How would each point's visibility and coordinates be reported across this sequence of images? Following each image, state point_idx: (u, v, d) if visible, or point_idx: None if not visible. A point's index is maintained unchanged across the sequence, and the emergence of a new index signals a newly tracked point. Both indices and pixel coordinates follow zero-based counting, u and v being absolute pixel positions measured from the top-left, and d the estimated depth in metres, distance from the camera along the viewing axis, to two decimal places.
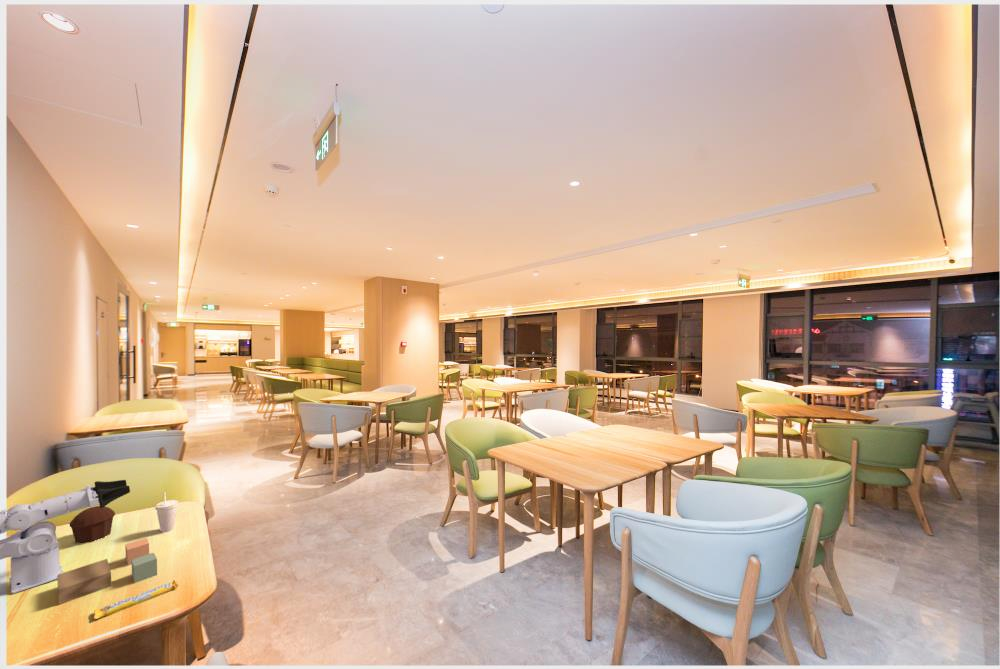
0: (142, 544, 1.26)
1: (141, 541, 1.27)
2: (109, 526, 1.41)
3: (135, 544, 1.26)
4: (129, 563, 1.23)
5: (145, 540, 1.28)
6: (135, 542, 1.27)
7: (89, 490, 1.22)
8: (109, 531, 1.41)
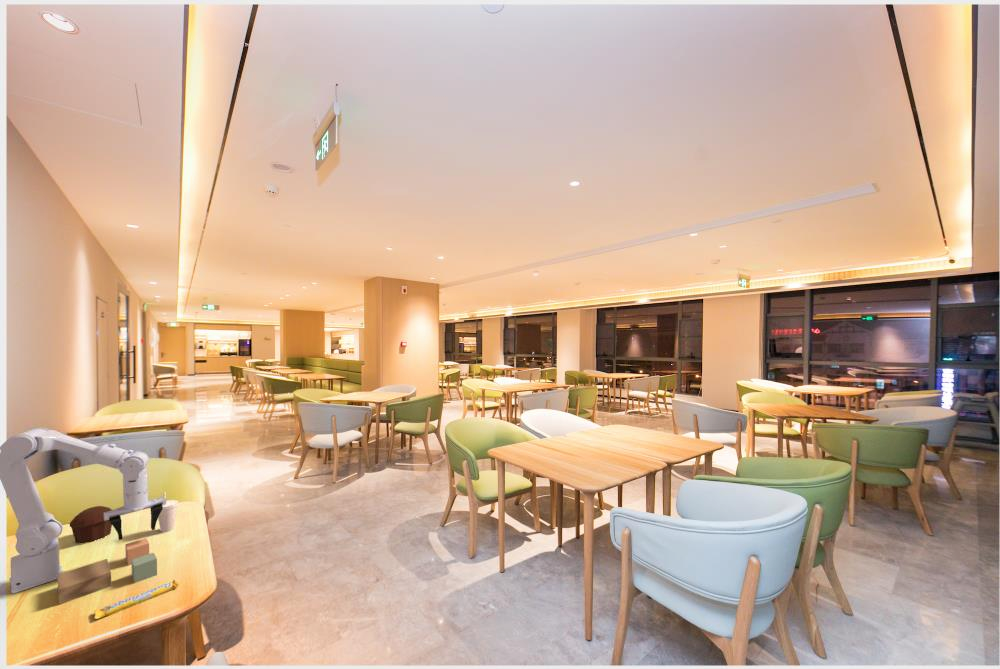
0: (142, 544, 1.26)
1: (141, 541, 1.27)
2: (109, 526, 1.41)
3: (135, 544, 1.26)
4: (129, 563, 1.23)
5: (145, 540, 1.28)
6: (135, 542, 1.27)
7: (129, 511, 1.23)
8: (109, 531, 1.41)
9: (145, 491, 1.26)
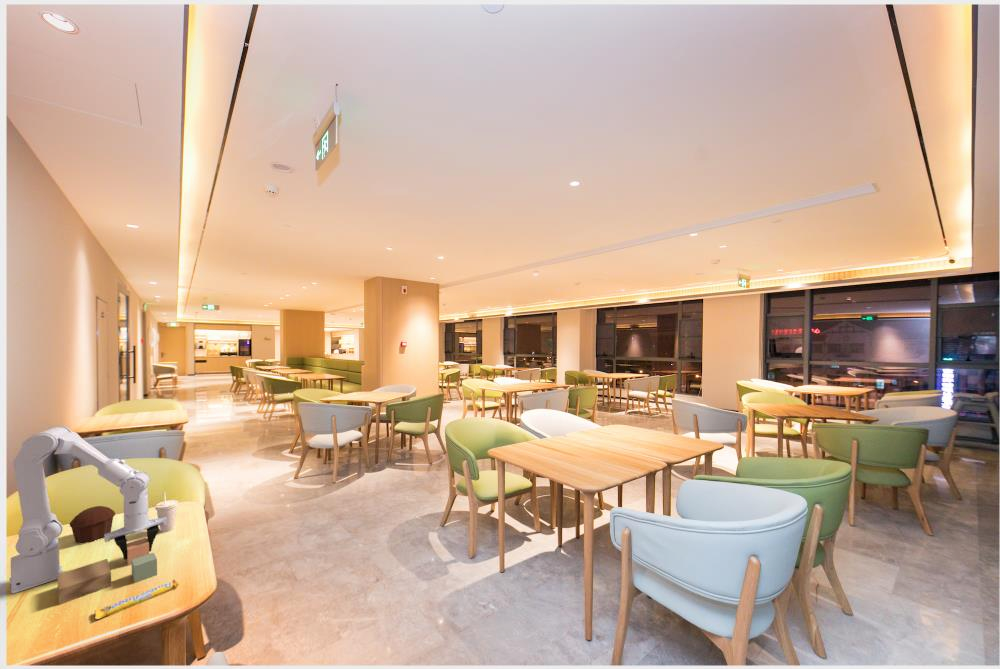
0: (142, 544, 1.26)
1: (141, 541, 1.27)
2: (109, 526, 1.41)
3: (135, 543, 1.26)
4: (129, 563, 1.23)
5: (145, 540, 1.28)
6: (135, 542, 1.27)
7: (130, 532, 1.23)
8: (109, 531, 1.41)
9: (146, 512, 1.26)
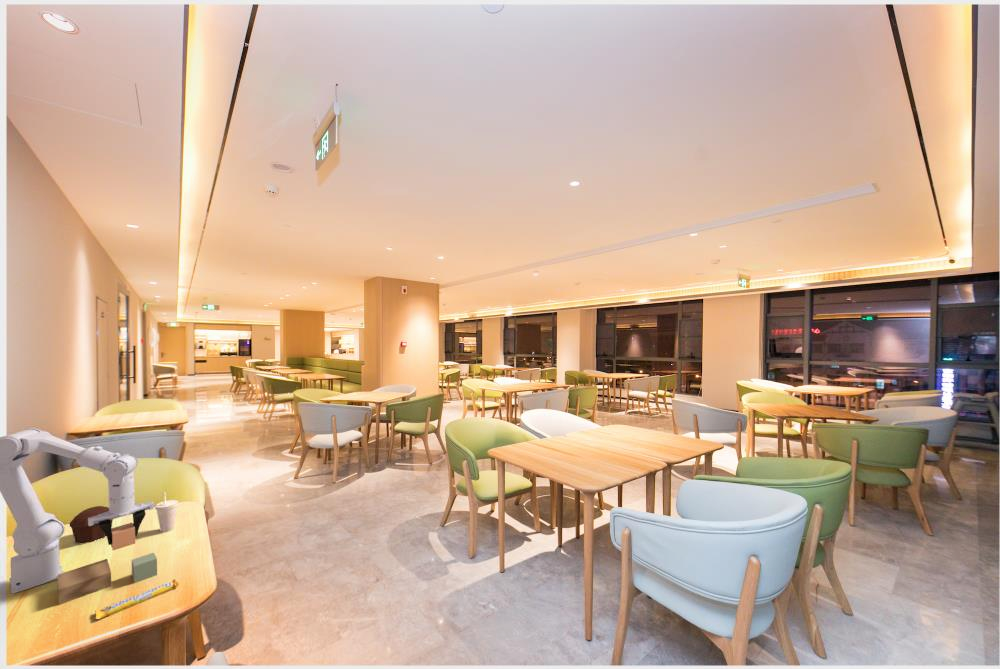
0: (128, 528, 1.22)
1: (127, 526, 1.23)
2: None
3: (120, 528, 1.22)
4: (114, 548, 1.19)
5: (131, 525, 1.24)
6: (120, 527, 1.23)
7: (115, 516, 1.19)
8: None
9: (131, 495, 1.22)
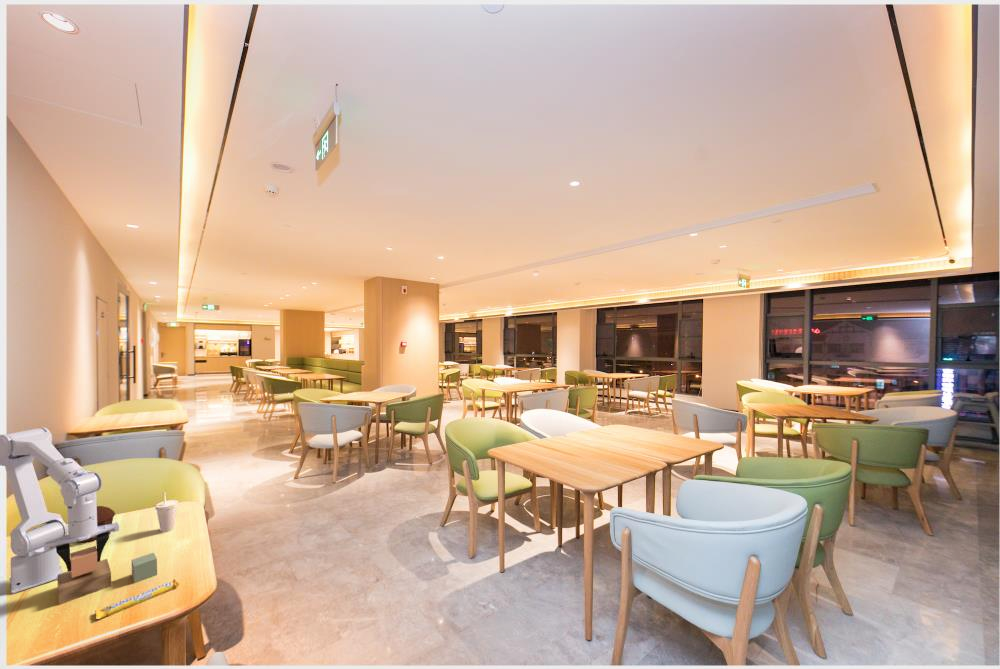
0: (89, 553, 1.12)
1: (88, 550, 1.13)
2: None
3: (81, 553, 1.12)
4: (73, 575, 1.09)
5: (93, 548, 1.14)
6: (81, 551, 1.13)
7: (74, 540, 1.09)
8: None
9: (93, 517, 1.12)
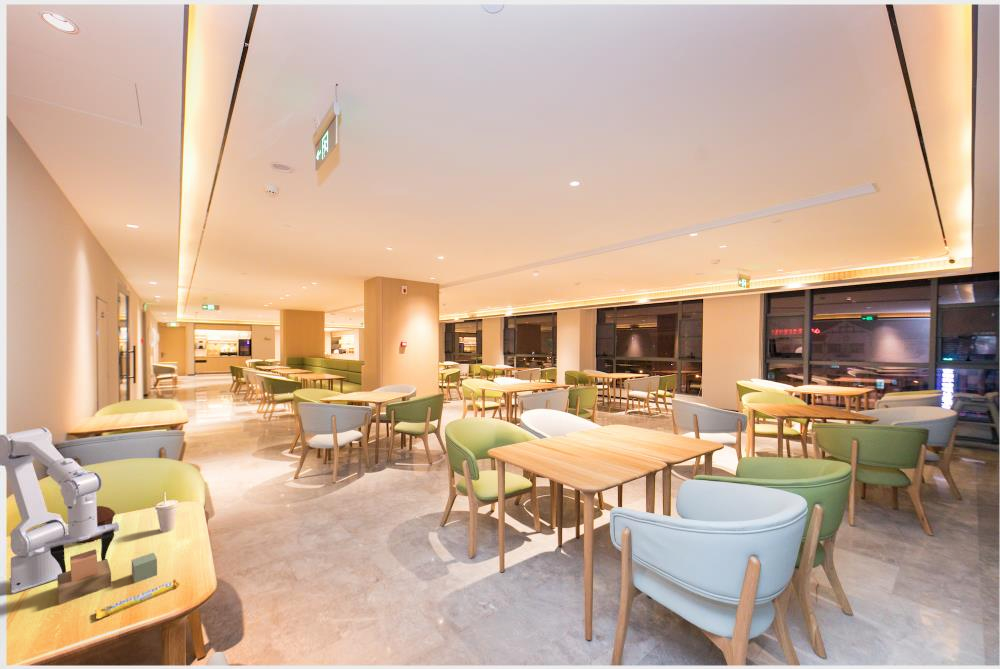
0: (89, 557, 1.12)
1: (88, 553, 1.13)
2: None
3: (81, 556, 1.12)
4: (73, 578, 1.09)
5: (93, 552, 1.14)
6: (81, 554, 1.13)
7: (74, 540, 1.09)
8: None
9: (93, 517, 1.12)
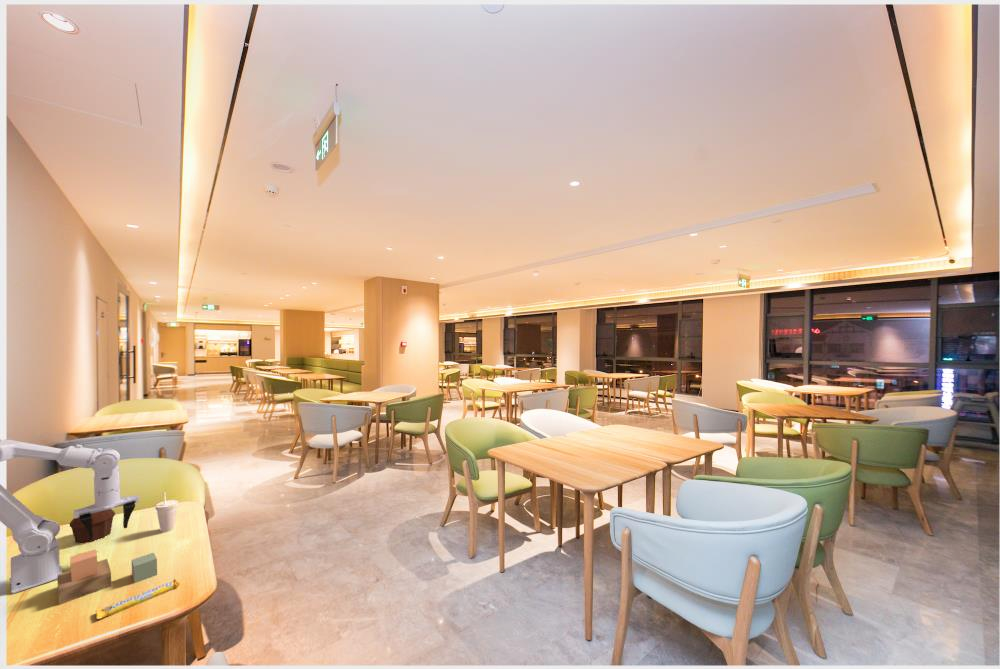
0: (89, 557, 1.12)
1: (88, 553, 1.13)
2: (109, 526, 1.41)
3: (81, 556, 1.12)
4: (73, 578, 1.09)
5: (93, 552, 1.14)
6: (81, 554, 1.13)
7: (100, 509, 1.21)
8: (109, 531, 1.41)
9: (117, 489, 1.25)
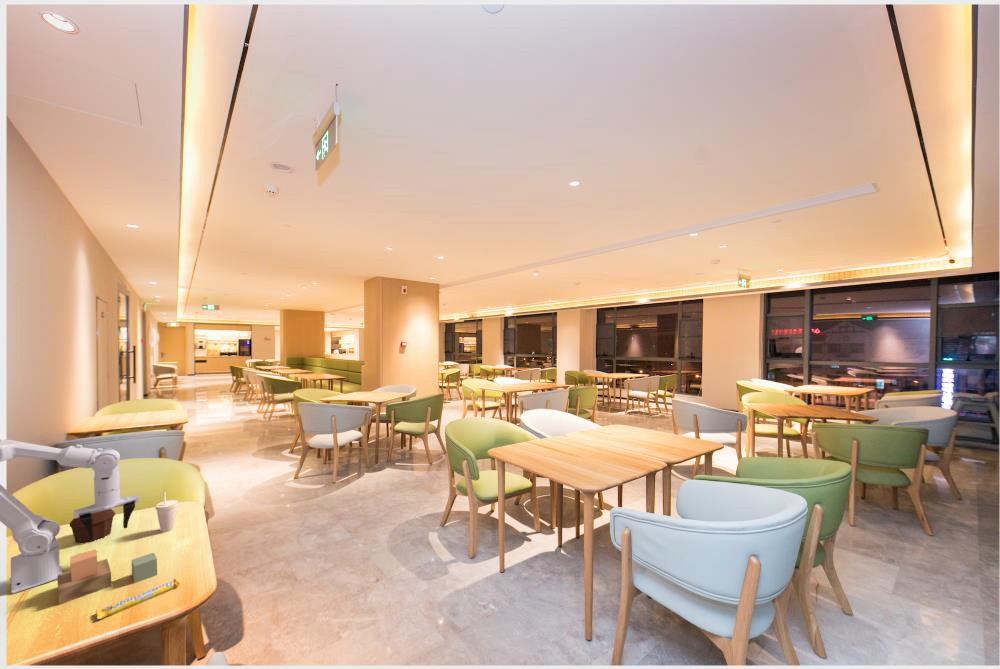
0: (89, 557, 1.12)
1: (88, 553, 1.13)
2: (109, 526, 1.41)
3: (81, 556, 1.12)
4: (73, 578, 1.09)
5: (93, 552, 1.14)
6: (81, 554, 1.13)
7: (100, 509, 1.21)
8: (109, 531, 1.41)
9: (117, 489, 1.25)
